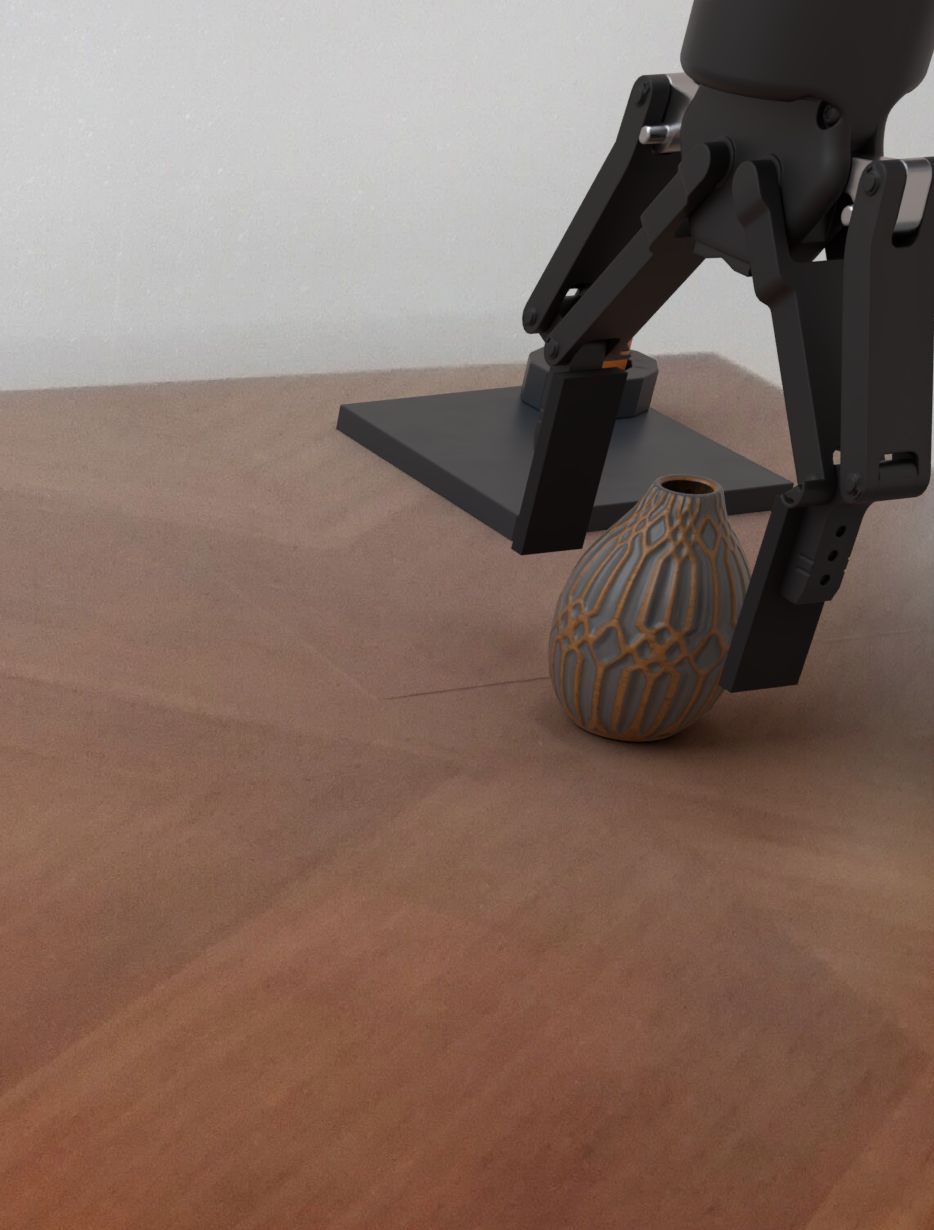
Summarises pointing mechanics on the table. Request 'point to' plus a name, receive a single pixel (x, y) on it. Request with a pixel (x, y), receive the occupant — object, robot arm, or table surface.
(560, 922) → the table surface
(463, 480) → the scale
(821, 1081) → the table surface
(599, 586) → the vase
